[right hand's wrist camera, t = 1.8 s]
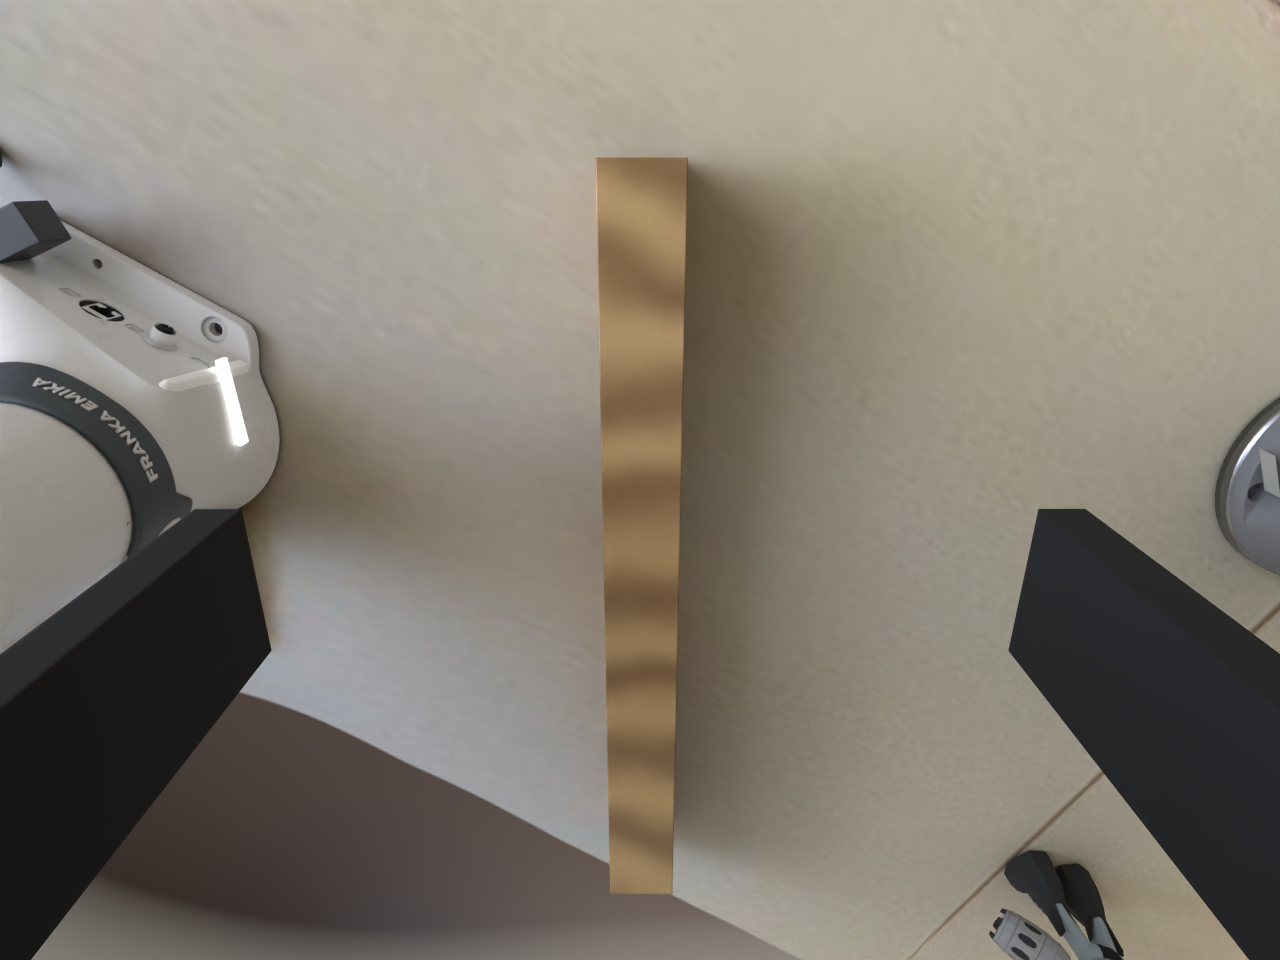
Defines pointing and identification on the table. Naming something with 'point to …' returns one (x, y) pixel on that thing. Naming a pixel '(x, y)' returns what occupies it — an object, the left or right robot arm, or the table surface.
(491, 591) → the table surface
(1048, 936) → the robot
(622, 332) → the post
